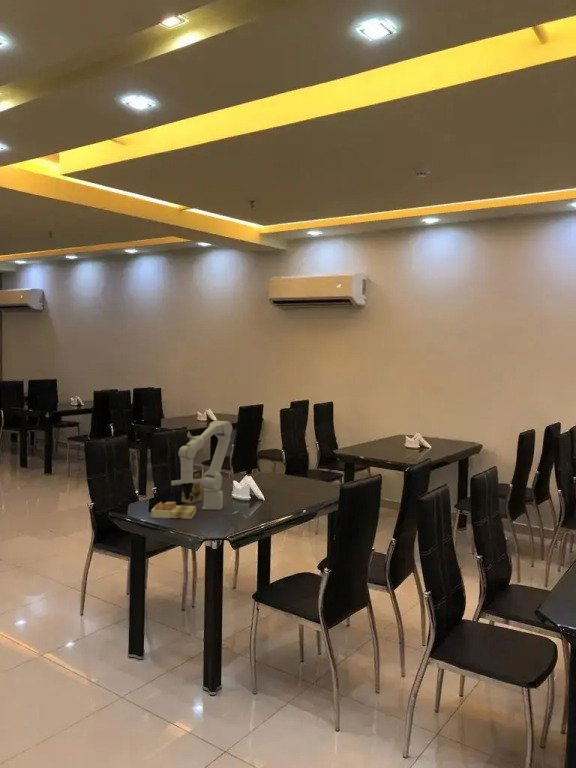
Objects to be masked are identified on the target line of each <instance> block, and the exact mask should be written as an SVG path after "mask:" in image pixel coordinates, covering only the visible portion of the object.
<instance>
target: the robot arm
mask: <svg viewBox="0 0 576 768" xmlns="http://www.w3.org/2000/svg"><path fill="white" fill-rule="evenodd" d="M233 429H234V428H233V425H232V423H231V422H230V421H225V420H217V419H214V420H213V421H212V422H210V423H209V426H208V427H207V428H206V429H204V431H203V432H202V433H201V434H200V435H199V436H197V435H196V436H193V437H192V439H191V440H190V441H189V442H187V443H186V444H185V445H181V447H180V448H179V449H178V452H177V454H178V457H179V461H180V479H176V480H171V481H170V482H171V486H181V490H182V489H183V491H184V495H185V499H186V500H188V499H189V496H190V492H191V490H192V488H193V484H196V483H200V484H201V489H202V490H203V506H202V507H201V510H215V511H217V510H219V511H220V510H222V508H223V505H224V504H223V503H224V500H223V497H224V495H223V494H224V493H223V490H221V487H222V483H223V476H222V474H221V470H222V467H223V463H224V460H225V457H226V454H227V451H228V447H229V444H230V441H231V435H232V431H233ZM212 436H215V437H216V438H217V440H218V441H217V444H216V447H215V451H214V454H213V456H212V461H211V462H210V463H211V464H210V465H209V469H208V470H206V471H205V472H204V473H203V476H202V479H193V469H194V458H195V457H196V454H197V452H198V451H199V450H200V449H201V448H202V447H204V445H205V442H207V440H209V438H211V437H212Z"/></svg>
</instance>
